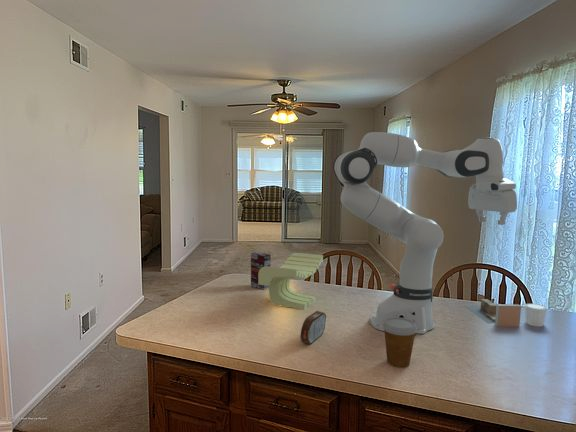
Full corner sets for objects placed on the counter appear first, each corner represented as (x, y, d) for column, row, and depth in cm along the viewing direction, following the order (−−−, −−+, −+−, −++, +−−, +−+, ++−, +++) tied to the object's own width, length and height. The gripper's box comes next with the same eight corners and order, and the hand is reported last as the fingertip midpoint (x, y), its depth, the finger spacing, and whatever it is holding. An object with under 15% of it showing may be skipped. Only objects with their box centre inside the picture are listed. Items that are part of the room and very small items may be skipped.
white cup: (548, 329, 153) (550, 309, 152) (527, 327, 154) (528, 308, 154) (541, 322, 160) (542, 303, 159) (521, 320, 161) (522, 302, 160)
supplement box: (250, 286, 203) (250, 253, 201) (257, 284, 206) (257, 251, 204) (263, 290, 197) (263, 255, 195) (270, 288, 201) (271, 254, 199)
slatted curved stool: (288, 290, 197) (289, 251, 195) (322, 295, 191) (322, 255, 189) (258, 310, 170) (258, 265, 168) (295, 316, 163) (296, 269, 161)
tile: (497, 327, 154) (498, 305, 153) (494, 325, 156) (496, 304, 155) (519, 327, 154) (521, 306, 153) (516, 326, 156) (518, 304, 155)
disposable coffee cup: (377, 356, 129) (378, 317, 128) (408, 355, 130) (410, 316, 129) (387, 370, 120) (388, 328, 119) (420, 369, 121) (422, 328, 119)
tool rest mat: (487, 324, 157) (487, 323, 157) (464, 306, 177) (464, 305, 177) (520, 324, 157) (520, 323, 157) (493, 307, 177) (493, 305, 177)
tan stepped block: (476, 308, 173) (476, 299, 172) (491, 308, 173) (491, 299, 172) (493, 321, 159) (494, 310, 158) (509, 321, 159) (510, 310, 158)
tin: (318, 330, 149) (319, 307, 148) (327, 332, 147) (327, 308, 146) (299, 346, 136) (299, 320, 135) (308, 348, 134) (309, 322, 133)
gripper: (462, 184, 161) (464, 221, 163) (504, 186, 141) (505, 227, 143) (477, 182, 163) (478, 219, 164) (519, 183, 143) (521, 225, 145)
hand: (491, 223), depth 154 cm, fingers open, 8 cm apart
